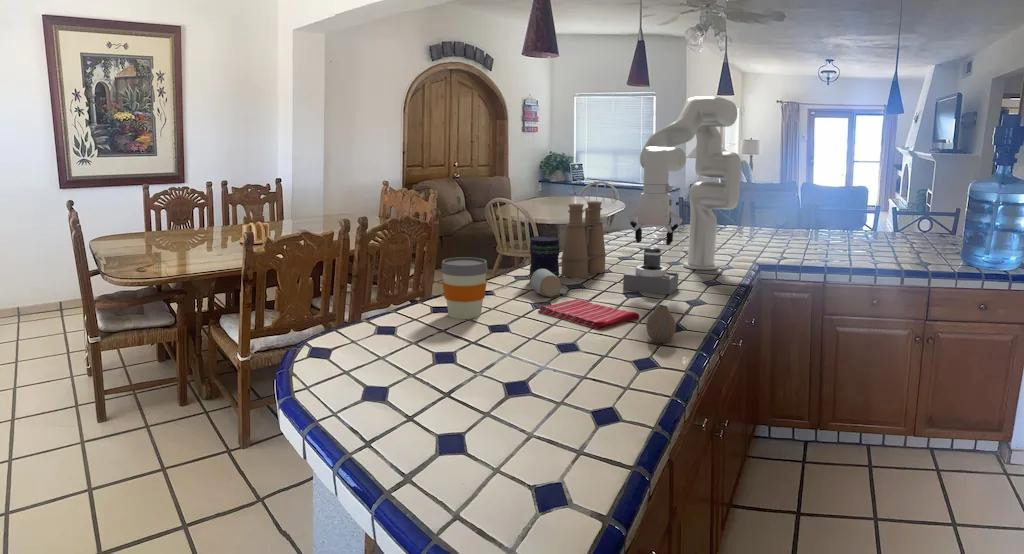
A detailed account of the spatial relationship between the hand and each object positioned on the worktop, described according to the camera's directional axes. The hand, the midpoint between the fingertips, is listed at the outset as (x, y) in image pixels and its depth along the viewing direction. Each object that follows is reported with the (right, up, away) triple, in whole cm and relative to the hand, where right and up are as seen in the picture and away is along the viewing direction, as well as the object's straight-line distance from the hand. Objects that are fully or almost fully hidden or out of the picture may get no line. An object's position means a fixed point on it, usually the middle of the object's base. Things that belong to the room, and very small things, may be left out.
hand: (653, 243), depth 215 cm
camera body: (-1, -15, +3) cm, 15 cm away
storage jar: (-34, -13, +11) cm, 38 cm away
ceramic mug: (-33, -16, -5) cm, 37 cm away
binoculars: (-20, -10, +26) cm, 34 cm away
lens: (0, -10, +1) cm, 10 cm away
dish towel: (-24, -22, -28) cm, 43 cm away
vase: (-9, -26, -51) cm, 58 cm away
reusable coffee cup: (-58, -21, -28) cm, 68 cm away
